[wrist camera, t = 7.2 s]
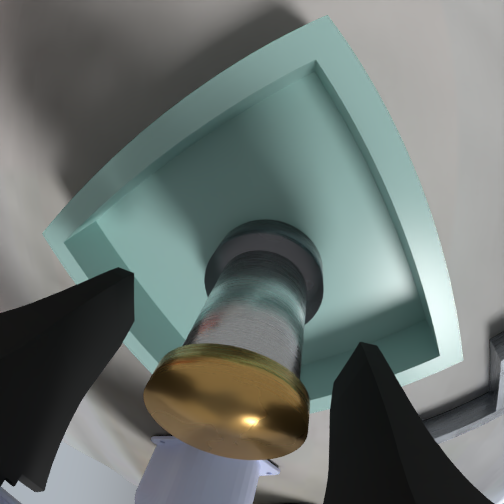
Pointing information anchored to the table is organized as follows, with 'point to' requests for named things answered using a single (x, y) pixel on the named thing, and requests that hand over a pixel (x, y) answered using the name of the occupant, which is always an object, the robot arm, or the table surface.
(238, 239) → the glass jar
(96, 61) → the table surface
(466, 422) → the bracket
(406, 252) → the tray
